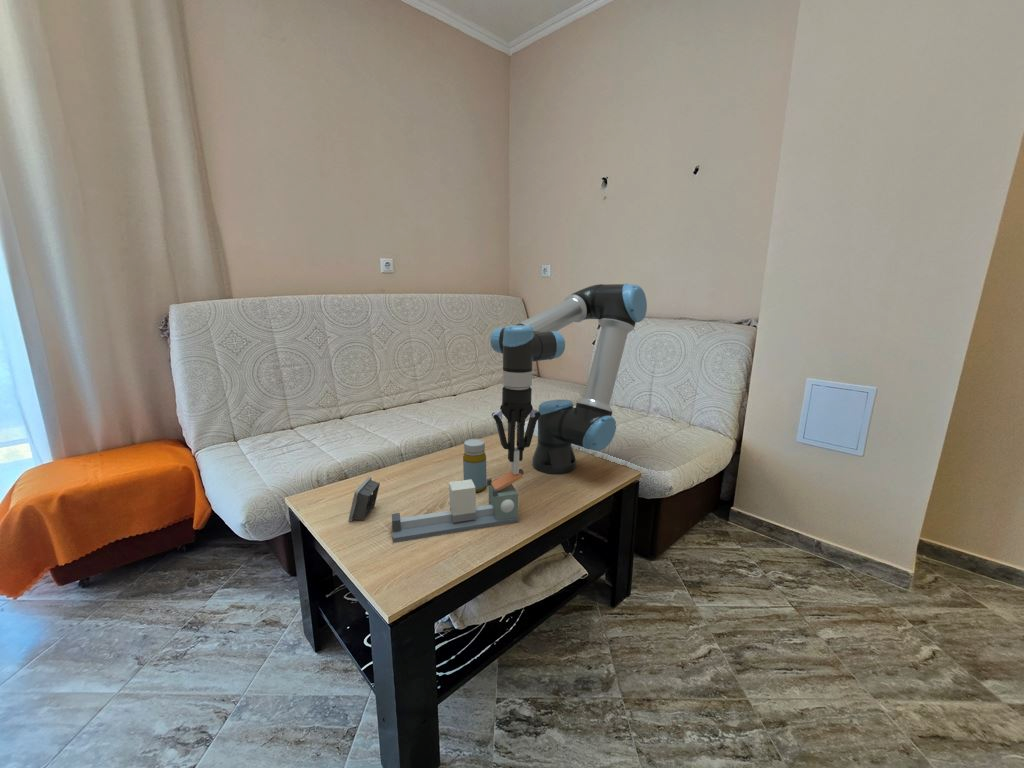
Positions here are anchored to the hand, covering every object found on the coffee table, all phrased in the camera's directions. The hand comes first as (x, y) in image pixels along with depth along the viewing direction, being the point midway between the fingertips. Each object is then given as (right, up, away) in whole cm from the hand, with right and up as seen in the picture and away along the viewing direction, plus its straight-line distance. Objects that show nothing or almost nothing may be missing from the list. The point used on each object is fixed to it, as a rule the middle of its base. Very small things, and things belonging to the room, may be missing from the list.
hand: (514, 472), depth 112 cm
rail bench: (-16, -13, -2) cm, 20 cm away
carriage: (-14, -11, -2) cm, 18 cm away
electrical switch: (-41, -12, +3) cm, 43 cm away
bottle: (-12, -9, +18) cm, 23 cm away
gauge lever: (-6, -4, -1) cm, 7 cm away
